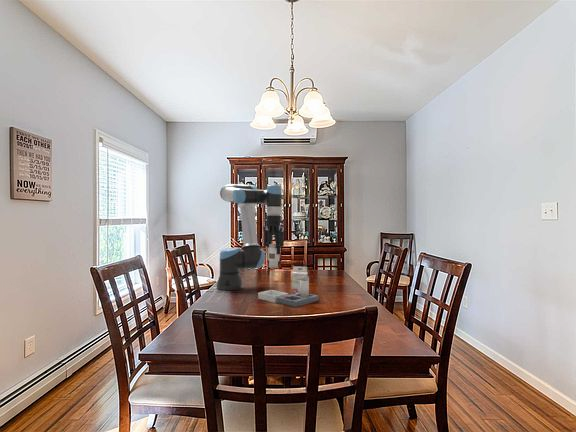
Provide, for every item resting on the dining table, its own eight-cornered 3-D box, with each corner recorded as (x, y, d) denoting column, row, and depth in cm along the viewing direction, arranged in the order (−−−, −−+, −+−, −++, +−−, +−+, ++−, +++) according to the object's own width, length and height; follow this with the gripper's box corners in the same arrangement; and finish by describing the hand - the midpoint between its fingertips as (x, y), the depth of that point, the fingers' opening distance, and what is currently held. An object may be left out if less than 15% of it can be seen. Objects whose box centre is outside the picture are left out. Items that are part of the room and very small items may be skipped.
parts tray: (257, 298, 187) (258, 292, 187) (271, 295, 194) (271, 289, 194) (274, 302, 179) (274, 296, 179) (288, 299, 186) (288, 293, 186)
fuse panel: (277, 302, 179) (277, 297, 179) (300, 296, 192) (300, 291, 192) (295, 307, 171) (295, 301, 171) (318, 300, 184) (318, 295, 184)
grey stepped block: (291, 294, 199) (291, 267, 199) (292, 292, 204) (292, 266, 204) (307, 294, 198) (307, 267, 198) (307, 292, 203) (307, 266, 203)
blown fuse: (266, 267, 186) (267, 244, 186) (273, 266, 190) (273, 243, 190) (273, 268, 183) (273, 244, 183) (279, 267, 187) (280, 244, 187)
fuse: (297, 300, 185) (297, 276, 185) (303, 298, 188) (303, 275, 188) (304, 301, 182) (305, 277, 182) (310, 300, 185) (310, 276, 185)
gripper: (256, 214, 190) (256, 259, 190) (281, 215, 178) (280, 262, 178) (267, 214, 195) (266, 258, 195) (291, 215, 183) (291, 261, 184)
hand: (273, 260), depth 187 cm, fingers closed on blown fuse, 5 cm apart
